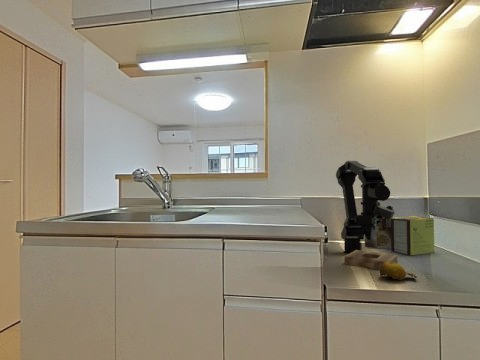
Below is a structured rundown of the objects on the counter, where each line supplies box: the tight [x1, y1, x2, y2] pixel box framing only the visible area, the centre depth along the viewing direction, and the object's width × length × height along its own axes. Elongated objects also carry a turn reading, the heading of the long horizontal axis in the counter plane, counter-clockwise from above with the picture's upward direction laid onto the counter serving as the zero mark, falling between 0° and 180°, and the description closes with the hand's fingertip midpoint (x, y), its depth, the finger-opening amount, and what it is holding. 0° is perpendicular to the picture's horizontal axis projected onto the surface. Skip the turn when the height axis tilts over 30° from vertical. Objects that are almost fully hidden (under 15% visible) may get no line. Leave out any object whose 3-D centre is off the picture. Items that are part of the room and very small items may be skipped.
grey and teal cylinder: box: [364, 221, 377, 249], centre depth 121 cm, size 4×4×10 cm
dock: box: [343, 250, 398, 270], centre depth 121 cm, size 16×14×3 cm
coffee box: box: [375, 216, 394, 250], centre depth 150 cm, size 9×6×16 cm
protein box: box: [390, 215, 435, 256], centre depth 141 cm, size 10×15×16 cm
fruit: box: [379, 262, 418, 281], centre depth 102 cm, size 11×11×5 cm
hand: (370, 239), depth 121 cm, fingers closed on grey and teal cylinder, 4 cm apart
